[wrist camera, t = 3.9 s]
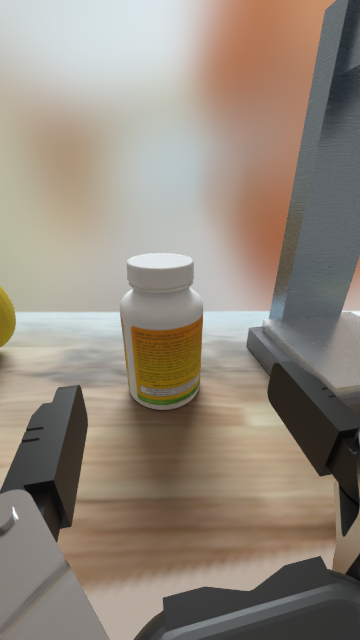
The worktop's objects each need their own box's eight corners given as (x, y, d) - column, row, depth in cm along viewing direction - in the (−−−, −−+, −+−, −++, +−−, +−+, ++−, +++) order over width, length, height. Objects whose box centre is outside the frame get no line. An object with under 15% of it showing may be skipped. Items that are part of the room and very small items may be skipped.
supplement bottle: (214, 388, 19) (225, 261, 15) (155, 426, 16) (146, 279, 12) (171, 356, 23) (169, 246, 18) (116, 382, 20) (98, 257, 15)
